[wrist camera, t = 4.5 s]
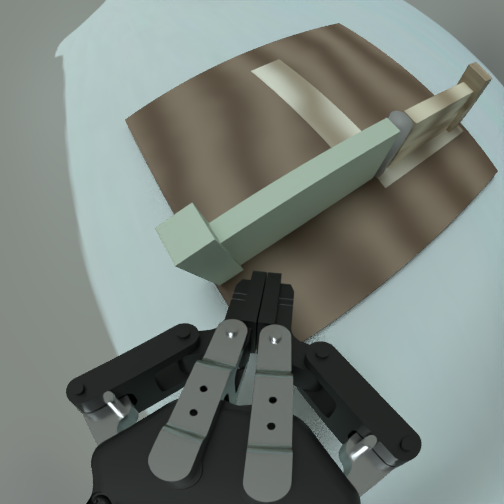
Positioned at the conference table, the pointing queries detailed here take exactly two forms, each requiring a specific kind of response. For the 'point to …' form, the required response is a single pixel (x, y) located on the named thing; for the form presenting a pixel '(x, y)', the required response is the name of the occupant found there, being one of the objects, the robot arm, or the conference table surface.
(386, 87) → the board
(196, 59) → the conference table surface
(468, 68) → the fixed fence panel
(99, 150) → the conference table surface
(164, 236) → the hinged fence panel
